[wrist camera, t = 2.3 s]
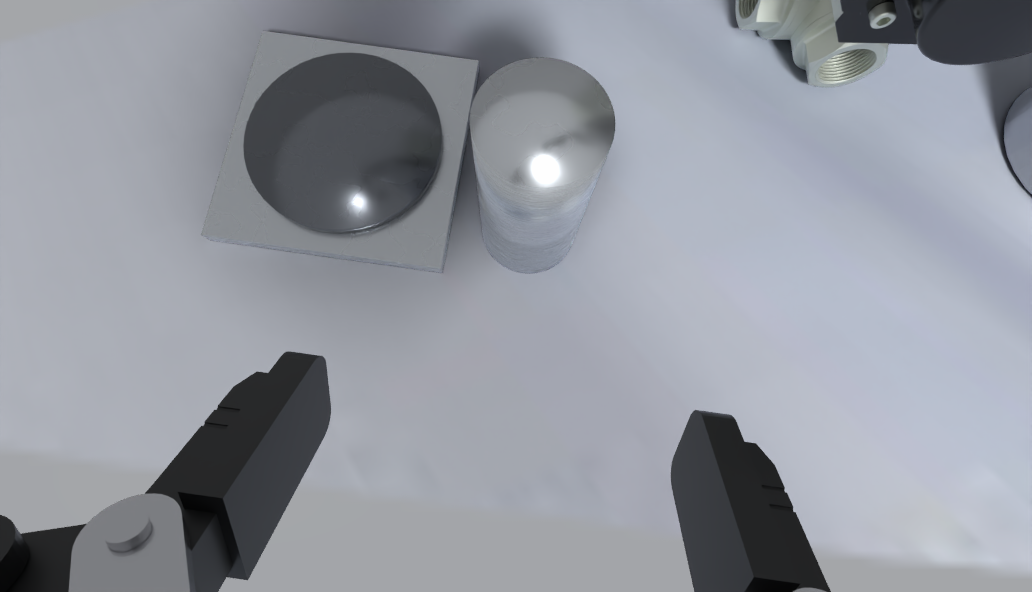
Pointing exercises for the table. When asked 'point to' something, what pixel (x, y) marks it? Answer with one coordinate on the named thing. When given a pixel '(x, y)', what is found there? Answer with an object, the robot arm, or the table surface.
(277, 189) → the flange
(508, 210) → the grey cylinder
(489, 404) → the table surface
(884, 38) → the ball valve
